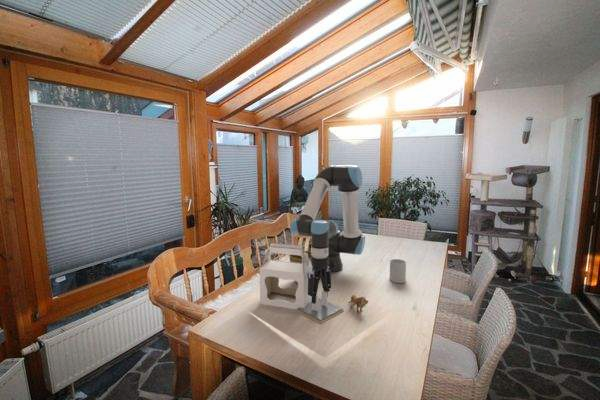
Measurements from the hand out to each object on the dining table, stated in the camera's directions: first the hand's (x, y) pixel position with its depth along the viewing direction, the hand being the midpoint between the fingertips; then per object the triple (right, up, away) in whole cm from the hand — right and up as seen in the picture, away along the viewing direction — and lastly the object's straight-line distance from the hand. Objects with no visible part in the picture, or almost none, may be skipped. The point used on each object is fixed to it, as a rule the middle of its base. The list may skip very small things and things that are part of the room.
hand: (319, 307), depth 127 cm
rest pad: (0, -2, 0) cm, 2 cm away
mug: (+47, +2, +36) cm, 59 cm away
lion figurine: (+17, -2, +2) cm, 17 cm away
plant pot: (-7, +1, +32) cm, 33 cm away
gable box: (-15, -1, +10) cm, 18 cm away
